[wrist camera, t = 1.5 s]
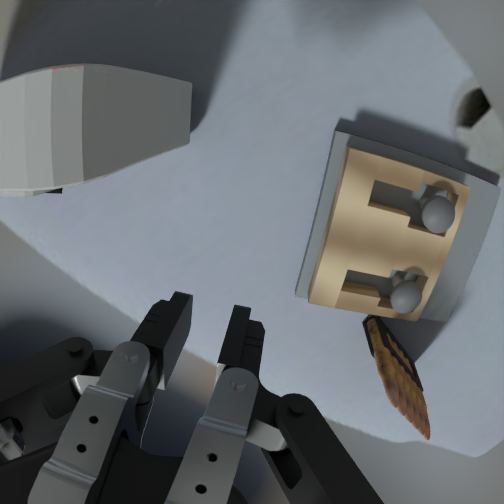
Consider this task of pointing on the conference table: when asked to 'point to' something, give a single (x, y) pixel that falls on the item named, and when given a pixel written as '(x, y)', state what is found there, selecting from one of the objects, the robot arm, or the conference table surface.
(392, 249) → the beech panel
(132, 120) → the rounded white slab
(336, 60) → the conference table surface
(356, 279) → the board
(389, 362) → the ammunition clip
